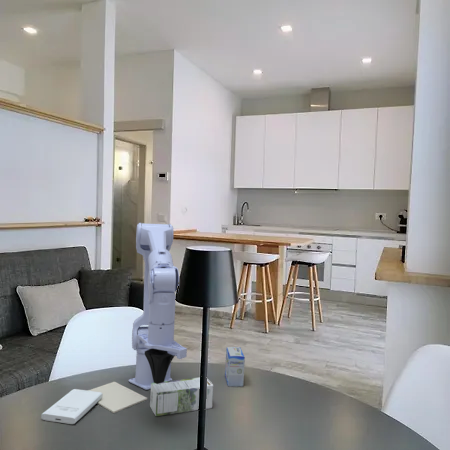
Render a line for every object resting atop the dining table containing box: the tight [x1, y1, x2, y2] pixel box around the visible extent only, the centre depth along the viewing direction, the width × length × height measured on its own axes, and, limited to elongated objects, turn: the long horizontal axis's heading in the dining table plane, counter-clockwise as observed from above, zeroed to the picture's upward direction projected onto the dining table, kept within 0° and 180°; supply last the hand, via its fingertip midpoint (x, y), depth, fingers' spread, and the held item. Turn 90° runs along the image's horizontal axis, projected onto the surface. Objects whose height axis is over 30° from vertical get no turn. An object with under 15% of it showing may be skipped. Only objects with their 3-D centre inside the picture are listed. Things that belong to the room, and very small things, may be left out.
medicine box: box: [224, 346, 246, 388], centre depth 117 cm, size 8×4×9 cm, turn 6°
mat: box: [87, 381, 148, 414], centre depth 103 cm, size 10×14×1 cm
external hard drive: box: [40, 388, 103, 425], centre depth 96 cm, size 2×8×12 cm
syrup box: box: [149, 377, 214, 417], centre depth 100 cm, size 6×6×14 cm
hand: (158, 382), depth 91 cm, fingers closed
